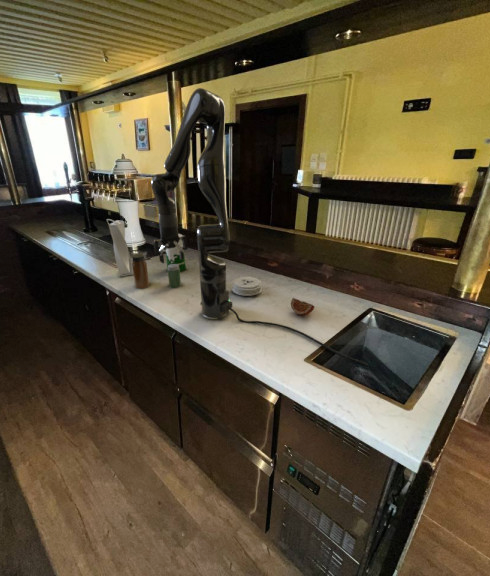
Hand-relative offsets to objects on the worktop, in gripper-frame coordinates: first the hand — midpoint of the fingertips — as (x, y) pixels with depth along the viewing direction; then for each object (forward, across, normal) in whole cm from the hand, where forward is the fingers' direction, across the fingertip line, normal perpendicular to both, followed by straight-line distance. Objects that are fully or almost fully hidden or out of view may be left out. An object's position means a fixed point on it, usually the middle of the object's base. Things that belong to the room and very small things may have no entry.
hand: (172, 261), depth 132 cm
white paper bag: (+12, +18, -26) cm, 34 cm away
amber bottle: (+12, +13, -7) cm, 19 cm away
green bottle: (+12, 0, 0) cm, 12 cm away
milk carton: (+12, -7, -18) cm, 23 cm away
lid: (+12, -26, +21) cm, 35 cm away
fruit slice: (+12, -34, +46) cm, 59 cm away
